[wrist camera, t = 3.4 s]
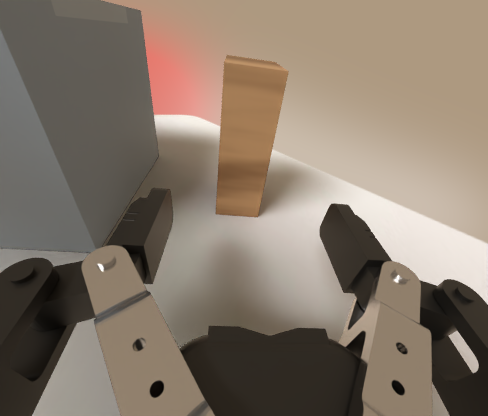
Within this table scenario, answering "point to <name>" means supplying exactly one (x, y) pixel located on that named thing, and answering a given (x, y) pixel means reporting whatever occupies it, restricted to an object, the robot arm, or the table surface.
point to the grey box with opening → (71, 121)
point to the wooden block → (247, 132)
